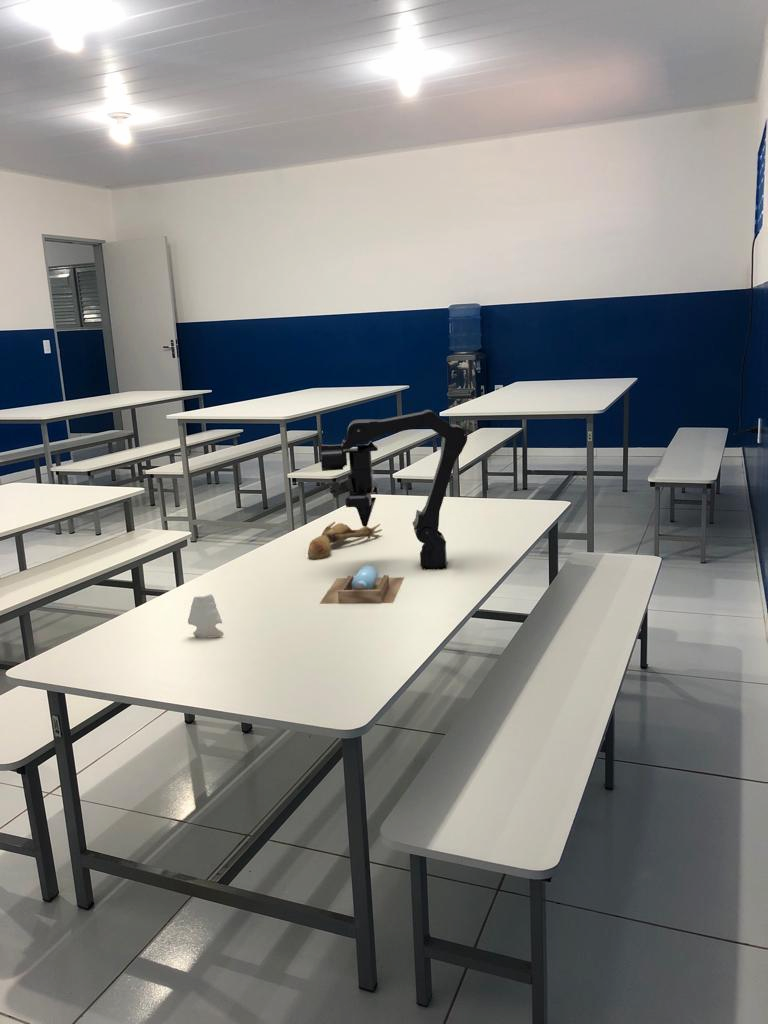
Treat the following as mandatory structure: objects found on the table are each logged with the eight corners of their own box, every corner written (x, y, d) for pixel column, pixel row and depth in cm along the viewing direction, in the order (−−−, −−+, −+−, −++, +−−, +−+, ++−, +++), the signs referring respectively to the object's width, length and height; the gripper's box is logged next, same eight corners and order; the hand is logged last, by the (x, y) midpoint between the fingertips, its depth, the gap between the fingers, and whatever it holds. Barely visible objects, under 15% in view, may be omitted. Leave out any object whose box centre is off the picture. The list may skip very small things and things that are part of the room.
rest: (404, 579, 219) (403, 566, 218) (393, 605, 200) (392, 590, 199) (337, 580, 222) (336, 567, 222) (319, 605, 203) (318, 591, 202)
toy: (335, 543, 274) (284, 558, 247) (335, 517, 273) (283, 529, 246) (383, 547, 266) (335, 562, 240) (382, 520, 265) (335, 533, 239)
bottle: (376, 564, 213) (368, 578, 202) (379, 584, 214) (371, 598, 203) (357, 566, 214) (347, 580, 203) (360, 585, 215) (350, 600, 204)
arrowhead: (187, 639, 187) (182, 596, 185) (191, 635, 189) (186, 592, 187) (222, 639, 186) (217, 595, 183) (226, 635, 188) (221, 592, 186)
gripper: (337, 463, 231) (341, 518, 234) (323, 476, 213) (328, 535, 216) (377, 461, 229) (381, 517, 233) (367, 474, 211) (371, 534, 215)
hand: (364, 526), depth 224 cm, fingers closed
